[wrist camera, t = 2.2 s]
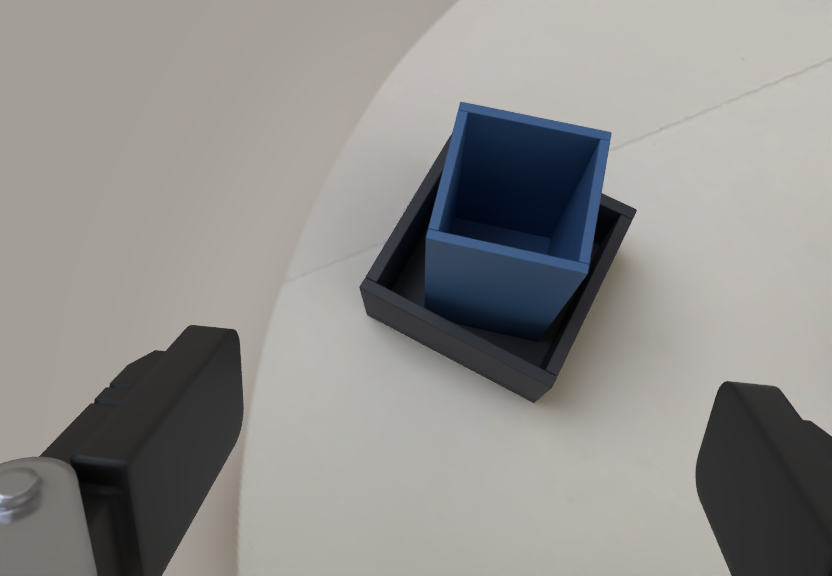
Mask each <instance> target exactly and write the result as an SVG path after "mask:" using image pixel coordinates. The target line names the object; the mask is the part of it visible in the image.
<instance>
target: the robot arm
mask: <svg viewBox="0 0 832 576" xmlns="http://www.w3.org/2000/svg"><path fill="white" fill-rule="evenodd" d="M242 420H243V389H242V372H241V356H240V341H239V336H238V334H237V332H236V330H234V329H226V328H216V327H206V326H197V325H190V326H188V327H187V328H186V329H185V330H184V331H183V332H182V333H181V335H180V336H179V337H178V338H177V339H176V340H175V341H174V342H173V343H172V345H171V346H170V347H169V348H168V349H167V350H166V351H157V350H155V351H153V352H151V353H149V354H147V355H146V356H144V357H142V358H140V359H138V360H136V361H134V362H133V363H131V364H129V365H127V366H126V368H124V370H123V371H122V372H121V373H120V374H119V375H118V376H117V377H116V378H115V379H114V380H113V381H112V382H111V383H110V387H109V388H105V389H104V390H103V391H102V392H101V393H100V394H99V395H98V396H97V397H96V398H95V402H94V404H92V403H91V404H90V405H89V406H88V407H87V408H86V409H85V410H84V411H83V412H82V413H81V414H80V415H79V416H78V417H77V418H76V419H75V420H74V421H73V422H72V423H71V424H70V425H69V427H67V428H66V429H65V430H64V431H63V432H62V433H61V435H60V436H59V437H58V438H57V439H56V440H55V441H54V442H53V443H52V444H51V445H50V446H49V447H48V448H47V449H46V450H45V451H44V452H43V453H42V454H41V455H40V456H39V457H28V458H20V459H16V460H11V461H8V462H4V463H1V464H0V576H162V574H163V572H164V571H165V569H166V567H167V565H168V563H169V562H170V560H171V558H172V556H173V555H174V553H175V551H176V549H177V547H178V546H179V544H180V542H181V540H182V538H183V537H184V535H185V533H186V531H187V530H188V528H189V526H190V524H191V523H192V520H193V519H194V517H195V515H196V513H197V512H198V510H199V508H200V506H201V505H202V503H203V501H204V499H205V497H206V496H207V494H208V492H209V490H210V488H211V487H212V485H213V483H214V481H215V480H216V478H217V476H218V474H219V472H220V471H221V469H222V467H223V465H224V464H225V462H226V460H227V458H228V456H229V455H230V453H231V451H232V449H233V447H234V446H235V444H236V442H237V439H238V437H239V434H240V430H241V426H242ZM696 487H697V492H698V496H699V499H700V501H701V504H702V506H703V509H704V511H705V513H706V516H707V518H708V521H709V523H710V525H711V528H712V530H713V532H714V535H715V537H716V540H717V542H718V544H719V547H720V549H721V552H722V554H723V556H724V559H725V561H726V564H727V566H728V568H729V571H730V573H731V575H732V576H832V436H830V435H829V434H828V433H826V432H825V431H824V430H822V429H821V428H820V427H818V426H817V425H816V424H814V423H813V422H811V421H807V420H802V418H801V417H800V416H799V414H798V413H797V412H796V410H795V409H794V408H793V406H792V405H791V403H790V402H789V401H788V399H787V398H786V397H785V395H784V394H783V393H782V391H781V390H780V389H779V388H777V387H775V386H769V385H759V384H749V383H740V382H730V381H727V382H724V383H723V384H722V385H721V386H720V388H719V390H718V392H717V395H716V398H715V401H714V404H713V408H712V411H711V414H710V418H709V421H708V424H707V428H706V431H705V434H704V438H703V441H702V444H701V448H700V451H699V454H698V458H697V463H696Z"/></svg>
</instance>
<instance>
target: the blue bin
mask: <svg viewBox="0 0 832 576" xmlns="http://www.w3.org/2000/svg"><path fill="white" fill-rule="evenodd" d="M610 139H611V132H607V131H602V130H597V129H592V128H587V127H583V126H578V125H573V124H568V123H563V122H558V121H553V120H548V119H543V118H538V117H533V116H528V115H523V114H519V113H514V112H509V111H504V110H499V109H494V108H489V107H484V106H479V105H474V104H469V103H464V102H461V103H460V106H459V110H458V113H457V117H456V121H455V125H454V129H453V133H452V137H451V141H450V145H449V149H448V153H447V157H446V160H445V164H444V168H443V172H442V176H441V180H440V184H439V188H438V192H437V196H436V200H435V204H434V208H433V211H432V215H431V219H430V223H429V227H428V231H427V235H426V253H425V295H424V308H426V309H428V310H430V311H432V312H434V313H435V314H437V315H439V316H441V317H443V318H445V319H447V320H449V321H451V322H453V323H457V324H462V325H466V326H470V327H475V328H479V329H483V330H488V331H492V332H496V333H501V334H505V335H509V336H514V337H518V338H522V339H527V340H531V341H535V342H538V341H539V339H540V338H541V337H542V335H543V334H544V333H545V331H546V330H547V328H548V327H549V326H550V324H551V323H552V322H553V320H554V319H555V318H556V316H557V315H558V313H559V312H560V311H561V309H562V308H563V307H564V305H565V304H566V303H567V301H568V300H569V298H570V297H571V296H572V294H573V293H574V292H575V290H576V289H577V288H578V286H579V285H580V283H581V282H582V281H583V279H584V278H585V277H586V275H587V274H588V270H589V263H590V258H591V252H592V246H593V240H594V234H595V228H596V222H597V217H598V211H599V205H600V199H601V193H602V187H603V181H604V175H605V169H606V163H607V157H608V151H609V145H610Z"/></svg>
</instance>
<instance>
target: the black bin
mask: <svg viewBox="0 0 832 576" xmlns="http://www.w3.org/2000/svg"><path fill="white" fill-rule="evenodd" d="M452 133H453V132H452ZM451 137H452V135H451V136H450V137H449V139H448V141H447V142H446V144H445V146H444V147H443V149H442V151H441V152H440V154H439V156H438V157H437V159H436V161H435V162H434V164H433V166H432V167H431V169H430V171H429V172H428V174H427V176H426V177H425V179H424V181H423V182H422V184H421V186H420V187H419V189H418V191H417V192H416V194H415V196H414V197H413V199H412V201H411V202H410V204H409V206H408V207H407V209H406V211H405V212H404V214H403V216H402V217H401V219H400V221H399V222H398V224H397V226H396V227H395V229H394V230H393V232H392V234H391V235H390V237H389V239H388V240H387V242H386V244H385V245H384V247H383V249H382V250H381V252H380V254H379V255H378V257H377V259H376V260H375V262H374V264H373V265H372V267H371V269H370V270H369V272H368V274H367V275H366V278H365V279H364V280H363V282H362V284H361V285H360V291H361V295H362V298H363V302H364V305H365V309H366V313H367V315H369V316H371V317H372V318H374V319H376V320H378V321H380V322H382V323H384V324H386V325H388V326H389V327H391V328H393V329H395V330H397V331H399V332H401V333H403V334H405V335H406V336H408V337H410V338H412V339H414V340H416V341H418V342H420V343H422V344H423V345H425V346H427V347H429V348H431V349H433V350H435V351H437V352H439V353H440V354H442V355H444V356H446V357H448V358H450V359H452V360H454V361H456V362H457V363H459V364H461V365H463V366H465V367H467V368H469V369H471V370H473V371H475V372H476V373H478V374H480V375H482V376H484V377H486V378H488V379H490V380H492V381H493V382H495V383H497V384H499V385H501V386H503V387H505V388H507V389H509V390H510V391H512V392H514V393H516V394H518V395H520V396H522V397H524V398H526V399H527V400H529V401H531V402H533V403H535V402H536V401H537V400H538V399H539V398H540V397H541V396H543V395H544V394H545V393H546V392H547V391H548V390H549V389H551V388H552V386H553V384H554V382H555V380H556V378H557V377H556V376H558V374H559V372H560V370H561V368H562V366H563V363H564V361H565V359H566V357H567V355H568V353H569V351H570V349H571V347H572V345H573V343H574V341H575V338H576V336H577V334H578V332H579V330H580V328H581V326H582V324H583V322H584V320H585V318H586V316H587V314H588V311H589V309H590V307H591V305H592V303H593V301H594V299H595V297H596V295H597V293H598V291H599V289H600V286H601V284H602V282H603V280H604V278H605V276H606V274H607V272H608V270H609V268H610V266H611V264H612V261H613V259H614V257H615V255H616V253H617V251H618V249H619V247H620V245H621V243H622V241H623V239H624V236H625V234H626V232H627V230H628V228H629V226H630V224H631V222H632V219H633V218H634V216H635V214H636V211H637V210H636V209H634V208H632V207H630V206H628V205H626V204H624V203H622V202H619V201H617V200H615V199H613V198H611V197H609V196H606V195H604V194H602V193H601V199H600V205H599V211H598V217H597V222H596V228H595V234H594V240H593V246H592V252H591V258H590V263H589V270H588V274H587V275H586V277H585V278H584V279H583V281H582V282H581V283H580V285H579V286H578V288H577V289H576V290H575V292H574V293H573V294H572V296H571V297H570V298H569V300H568V301H567V303H566V304H565V305H564V307H563V308H562V309H561V311H560V312H559V313H558V315H557V316H556V318H555V319H554V320H553V322H552V323H551V324H550V326H549V327H548V328H547V330H546V331H545V333H544V334H543V335H542V337H541V338H540V339H539V341H538V342H535V341H531V340H527V339H522V338H518V337H514V336H509V335H505V334H501V333H496V332H492V331H488V330H483V329H479V328H475V327H470V326H466V325H462V324H457V323H453V322H451V321H449V320H447V319H445V318H443V317H441V316H439V315H437V314H435V313H434V312H432V311H430V310H428V309H426V308H424V295H425V253H426V235H427V231H428V227H429V223H430V219H431V215H432V211H433V208H434V204H435V200H436V196H437V192H438V188H439V184H440V180H441V176H442V172H443V168H444V164H445V160H446V157H447V153H448V149H449V145H450V141H451Z"/></svg>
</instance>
